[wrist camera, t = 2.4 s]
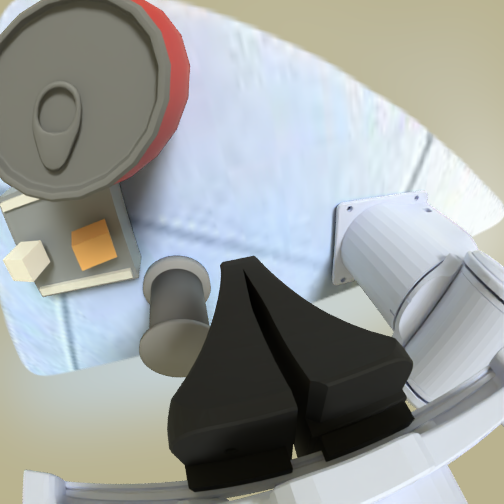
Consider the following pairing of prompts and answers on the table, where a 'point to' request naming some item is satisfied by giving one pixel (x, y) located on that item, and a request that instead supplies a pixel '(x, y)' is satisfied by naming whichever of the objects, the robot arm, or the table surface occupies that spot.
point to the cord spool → (175, 315)
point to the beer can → (87, 94)
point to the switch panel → (60, 242)
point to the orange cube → (93, 244)
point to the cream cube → (26, 261)
